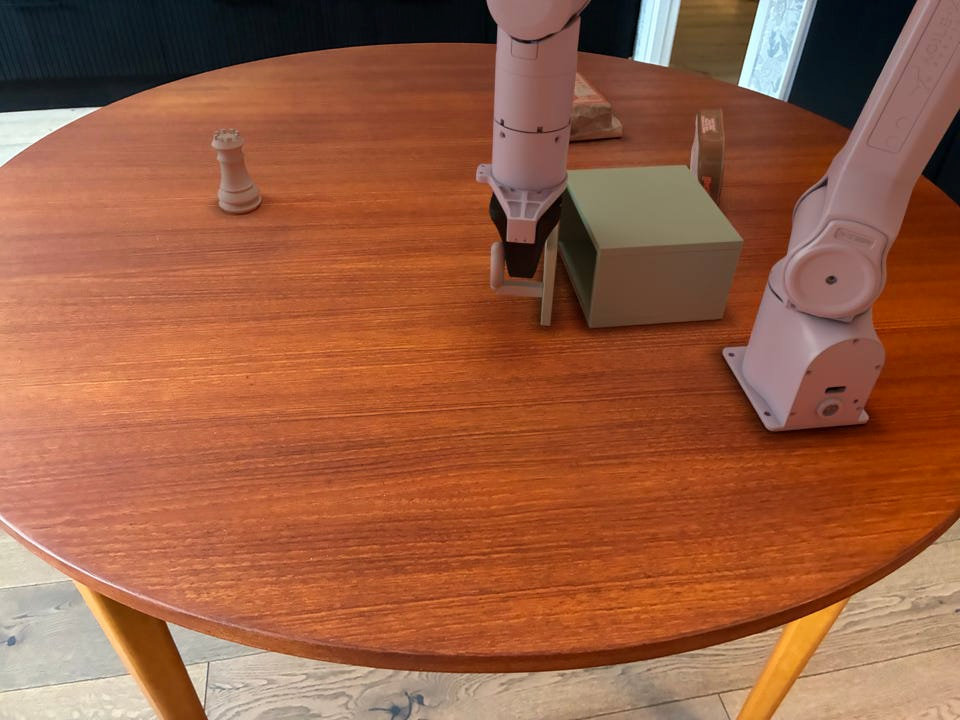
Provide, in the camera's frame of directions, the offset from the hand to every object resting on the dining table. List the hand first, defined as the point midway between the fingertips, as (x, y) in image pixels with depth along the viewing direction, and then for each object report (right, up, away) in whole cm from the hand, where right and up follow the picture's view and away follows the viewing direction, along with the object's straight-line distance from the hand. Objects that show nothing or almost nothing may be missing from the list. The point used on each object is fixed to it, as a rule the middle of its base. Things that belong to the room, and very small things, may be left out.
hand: (521, 272), depth 64 cm
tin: (+21, +11, +20) cm, 31 cm away
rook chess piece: (-29, +9, +17) cm, 35 cm away
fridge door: (0, 0, +6) cm, 6 cm away
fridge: (+11, 0, +7) cm, 13 cm away
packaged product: (+8, +25, +37) cm, 46 cm away
